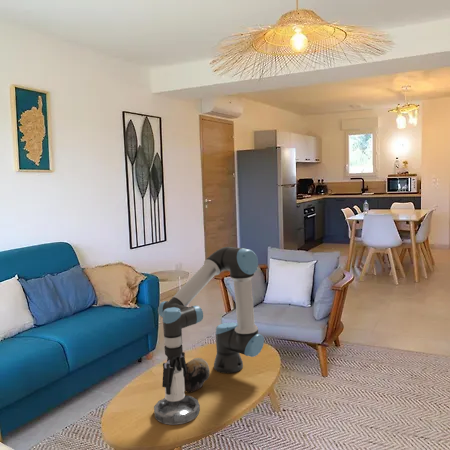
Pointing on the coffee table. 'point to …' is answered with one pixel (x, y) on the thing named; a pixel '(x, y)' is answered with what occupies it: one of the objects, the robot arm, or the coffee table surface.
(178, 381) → the mug
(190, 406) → the gray metal bowl
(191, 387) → the decorative stone
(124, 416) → the coffee table surface
